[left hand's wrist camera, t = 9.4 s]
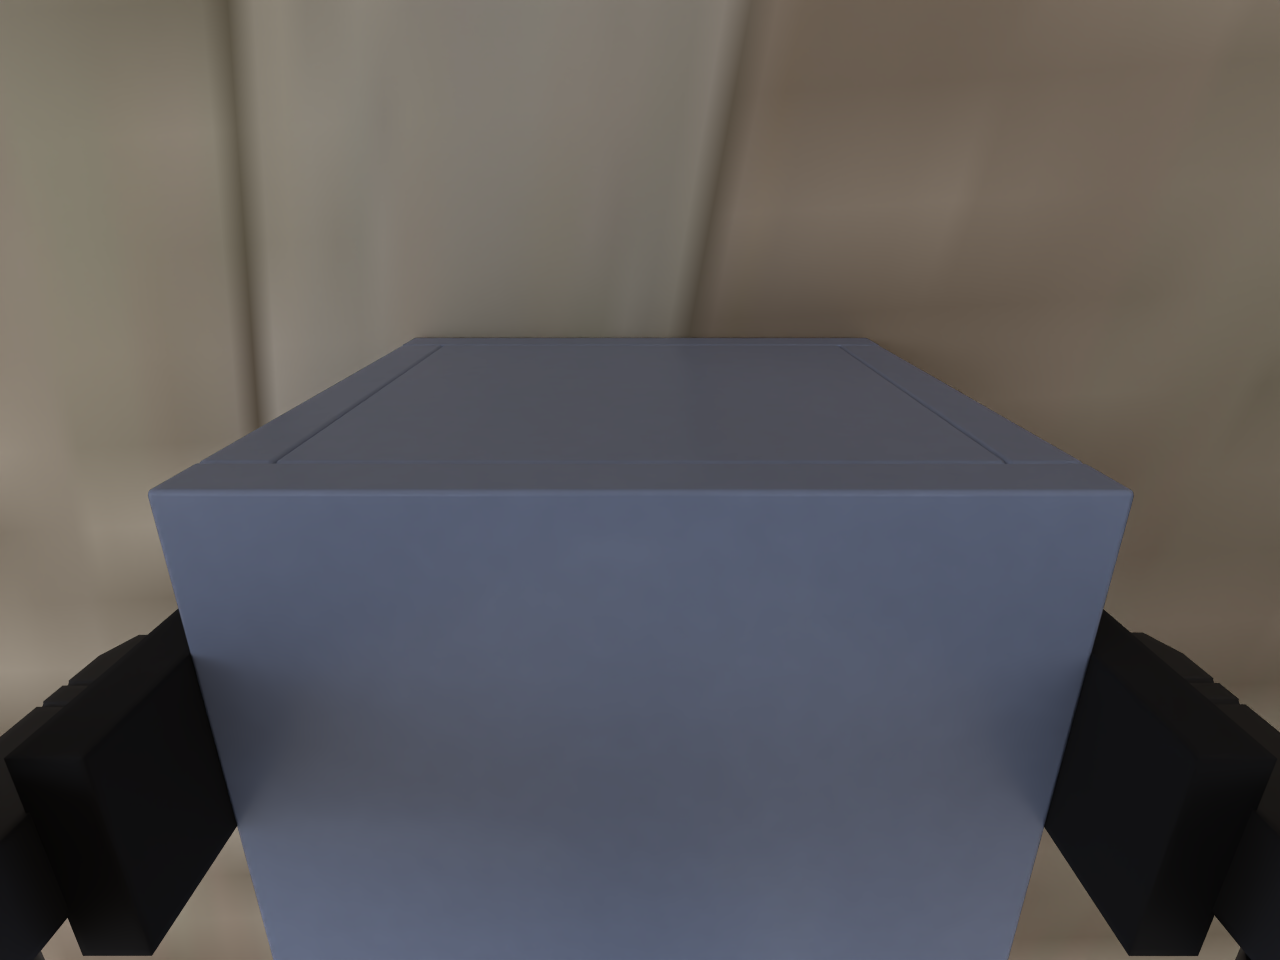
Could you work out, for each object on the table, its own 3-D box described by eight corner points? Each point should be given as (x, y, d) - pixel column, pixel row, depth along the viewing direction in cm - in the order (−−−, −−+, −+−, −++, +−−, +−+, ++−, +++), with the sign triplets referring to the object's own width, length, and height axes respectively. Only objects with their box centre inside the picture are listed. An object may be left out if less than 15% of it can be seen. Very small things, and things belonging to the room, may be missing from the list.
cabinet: (809, 845, 22) (923, 1278, 13) (472, 845, 22) (356, 1277, 13) (867, 337, 17) (1138, 491, 8) (414, 337, 17) (142, 490, 8)
